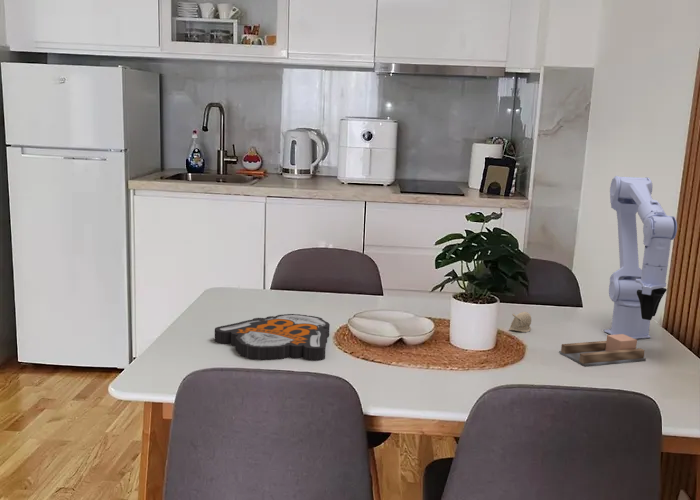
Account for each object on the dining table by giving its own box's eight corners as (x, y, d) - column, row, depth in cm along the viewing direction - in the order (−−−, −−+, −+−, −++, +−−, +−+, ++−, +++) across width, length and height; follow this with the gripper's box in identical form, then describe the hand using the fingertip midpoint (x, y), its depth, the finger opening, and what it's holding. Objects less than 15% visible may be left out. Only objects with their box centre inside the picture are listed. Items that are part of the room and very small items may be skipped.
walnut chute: (617, 348, 183) (618, 338, 183) (645, 360, 174) (646, 351, 174) (559, 352, 177) (560, 343, 177) (584, 366, 168) (586, 356, 167)
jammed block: (621, 349, 181) (623, 334, 180) (635, 355, 176) (637, 340, 175) (605, 350, 179) (607, 335, 178) (618, 357, 174) (620, 341, 173)
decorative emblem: (305, 372, 157) (361, 337, 184) (306, 358, 156) (361, 324, 183) (196, 349, 169) (263, 319, 196) (196, 335, 168) (263, 307, 195)
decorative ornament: (535, 330, 196) (537, 311, 195) (515, 334, 191) (517, 315, 190) (523, 326, 199) (525, 308, 198) (504, 330, 194) (505, 311, 193)
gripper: (644, 257, 184) (637, 308, 186) (631, 266, 172) (625, 320, 174) (673, 262, 180) (666, 313, 183) (662, 270, 168) (655, 326, 171)
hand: (648, 317), depth 178 cm, fingers open, 4 cm apart
